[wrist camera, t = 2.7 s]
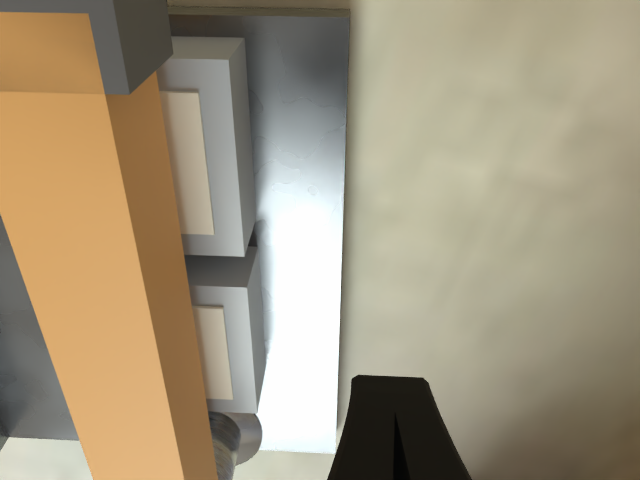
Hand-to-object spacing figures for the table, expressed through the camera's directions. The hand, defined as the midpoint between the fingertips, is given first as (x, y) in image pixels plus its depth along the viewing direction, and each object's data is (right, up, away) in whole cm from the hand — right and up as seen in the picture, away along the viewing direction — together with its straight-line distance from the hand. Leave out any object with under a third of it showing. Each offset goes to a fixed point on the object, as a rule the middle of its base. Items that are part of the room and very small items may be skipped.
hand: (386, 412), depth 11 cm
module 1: (-6, +6, +4) cm, 9 cm away
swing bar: (-6, +1, +4) cm, 7 cm away
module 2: (-6, +1, +7) cm, 9 cm away
